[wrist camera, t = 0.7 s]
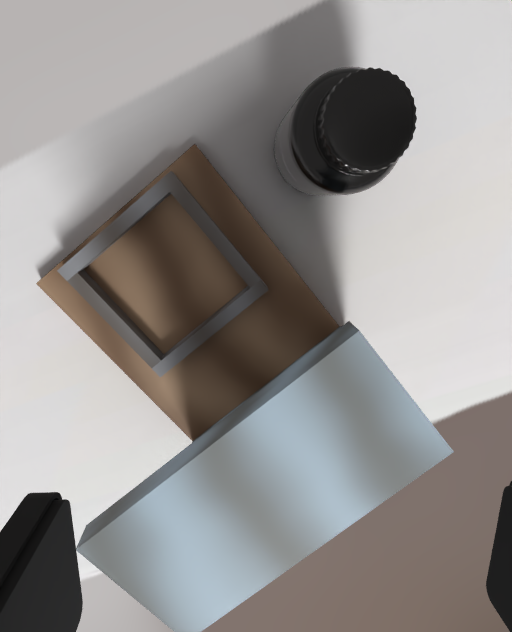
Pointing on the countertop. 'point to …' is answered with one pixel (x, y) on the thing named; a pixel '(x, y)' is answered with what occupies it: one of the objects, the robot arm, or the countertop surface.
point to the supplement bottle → (345, 131)
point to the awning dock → (231, 400)
